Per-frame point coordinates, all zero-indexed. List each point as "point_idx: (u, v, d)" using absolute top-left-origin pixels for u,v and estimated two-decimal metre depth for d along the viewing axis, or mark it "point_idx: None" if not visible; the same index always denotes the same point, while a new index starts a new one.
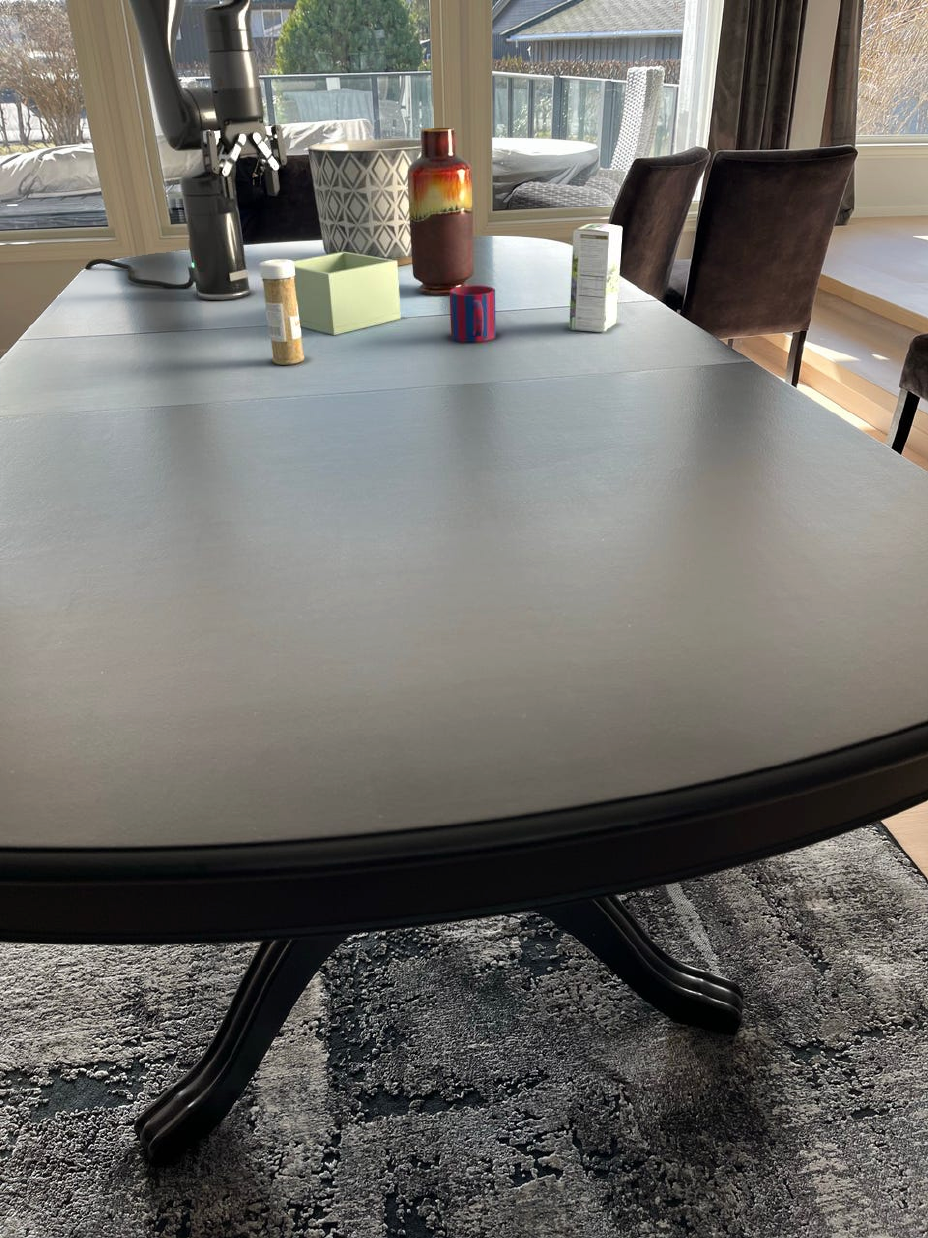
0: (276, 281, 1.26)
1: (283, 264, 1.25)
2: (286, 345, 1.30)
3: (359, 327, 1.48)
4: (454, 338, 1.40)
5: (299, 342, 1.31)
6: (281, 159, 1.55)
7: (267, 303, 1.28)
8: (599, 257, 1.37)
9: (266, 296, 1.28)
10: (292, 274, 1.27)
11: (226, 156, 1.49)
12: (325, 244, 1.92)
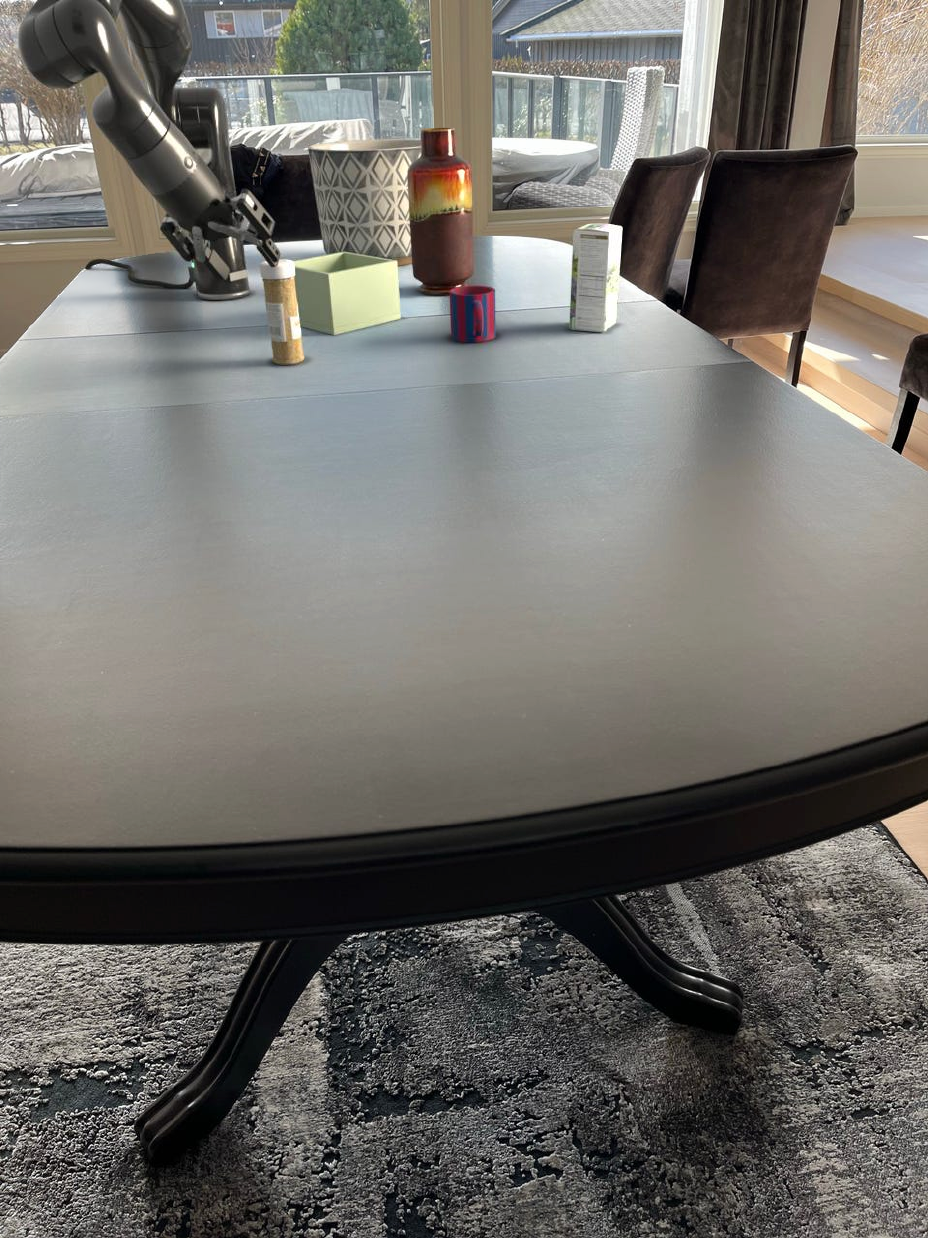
0: (276, 281, 1.26)
1: (283, 264, 1.25)
2: (286, 345, 1.30)
3: (359, 327, 1.48)
4: (454, 338, 1.40)
5: (299, 342, 1.31)
6: (261, 234, 1.19)
7: (267, 303, 1.28)
8: (599, 257, 1.37)
9: (266, 296, 1.28)
10: (292, 274, 1.27)
11: None
12: (325, 244, 1.92)
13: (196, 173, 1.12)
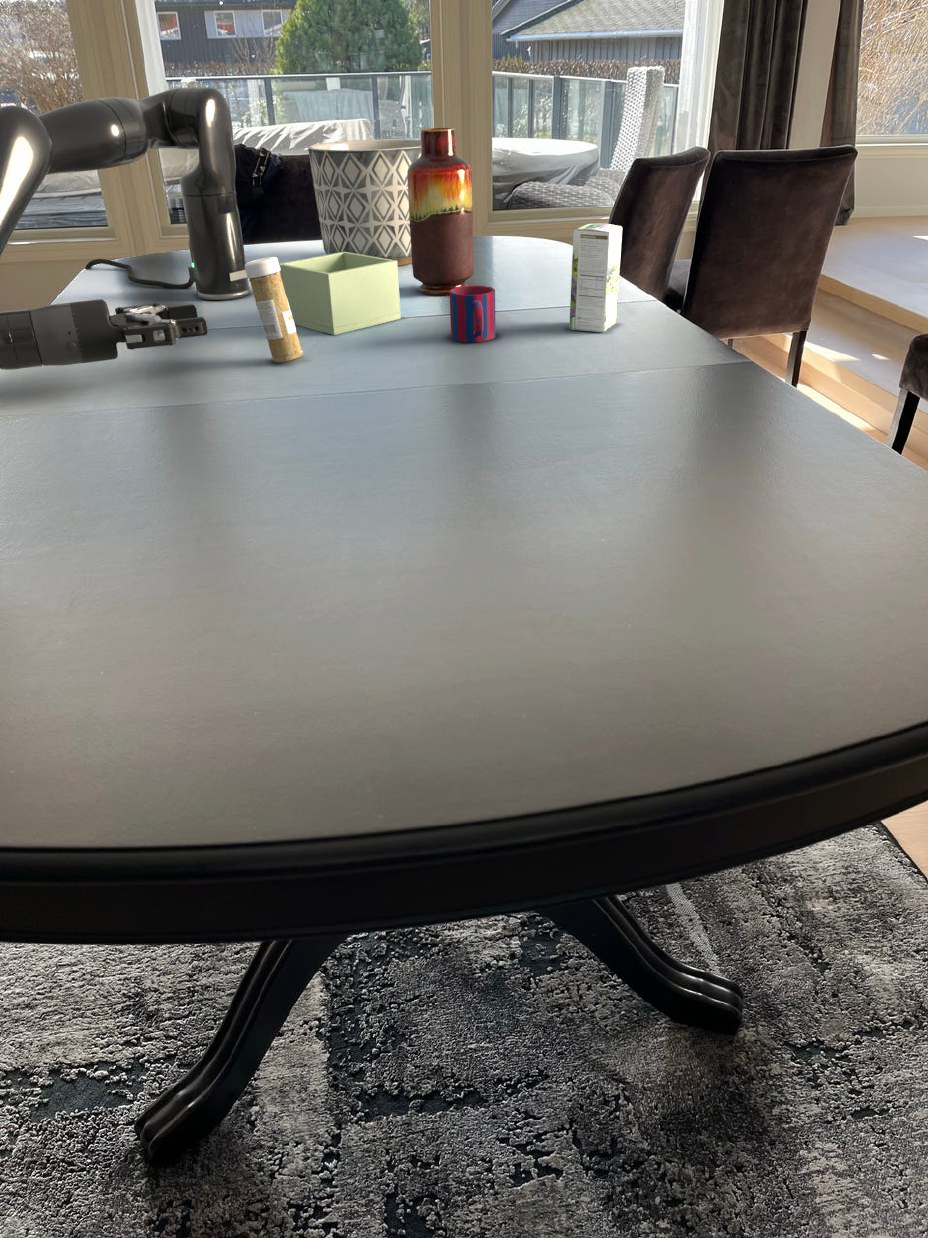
0: (263, 278, 1.26)
1: (267, 260, 1.26)
2: (283, 341, 1.30)
3: (359, 327, 1.48)
4: (454, 338, 1.40)
5: (295, 337, 1.31)
6: None
7: (258, 302, 1.28)
8: (599, 257, 1.37)
9: (256, 296, 1.28)
10: (278, 269, 1.27)
11: None
12: (325, 244, 1.92)
13: (84, 346, 1.19)
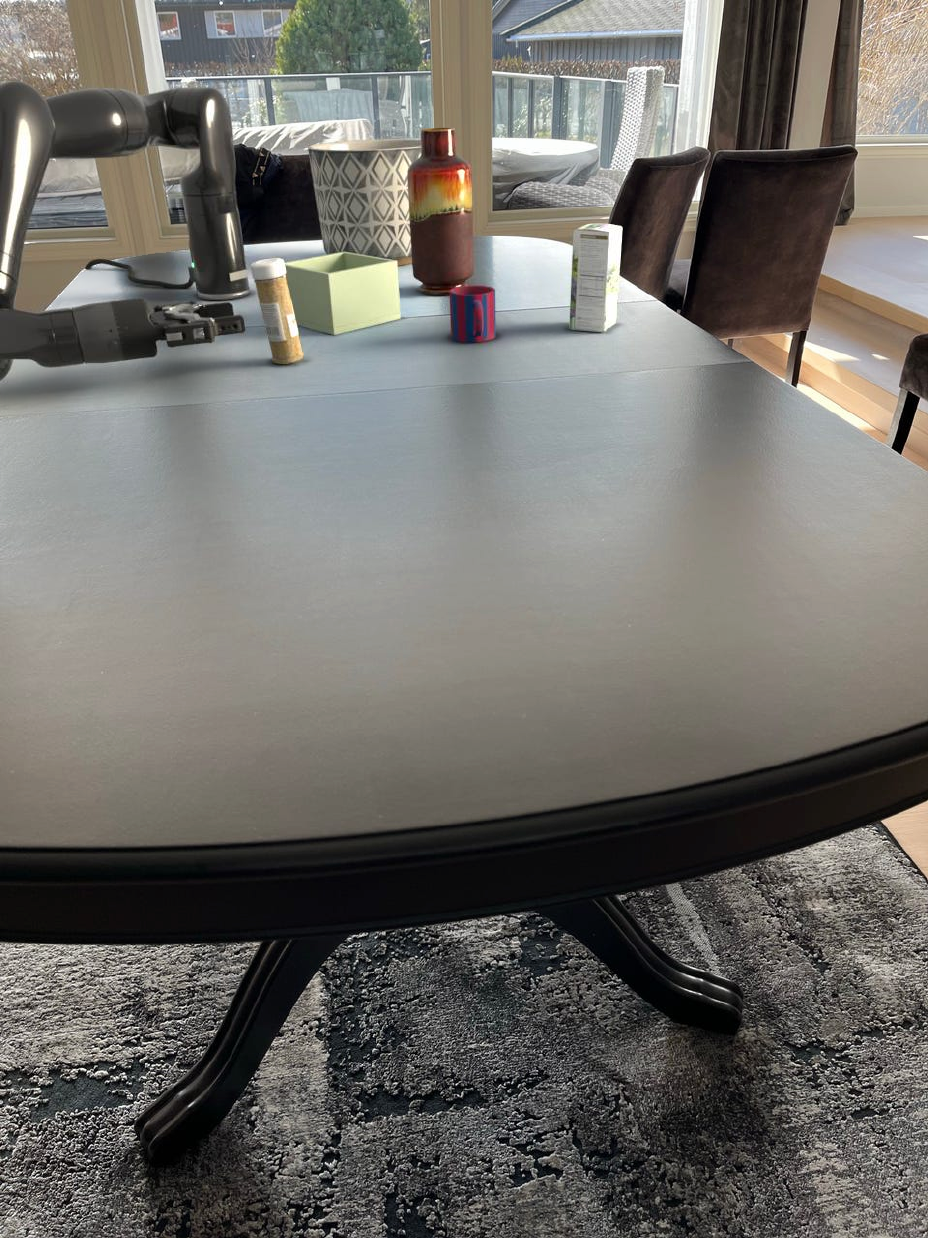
0: (270, 281, 1.25)
1: (275, 263, 1.25)
2: (286, 344, 1.30)
3: (359, 327, 1.48)
4: (454, 338, 1.40)
5: (297, 339, 1.31)
6: None
7: (262, 304, 1.28)
8: (599, 257, 1.37)
9: (261, 297, 1.27)
10: (284, 272, 1.26)
11: None
12: (325, 244, 1.92)
13: (125, 344, 1.21)
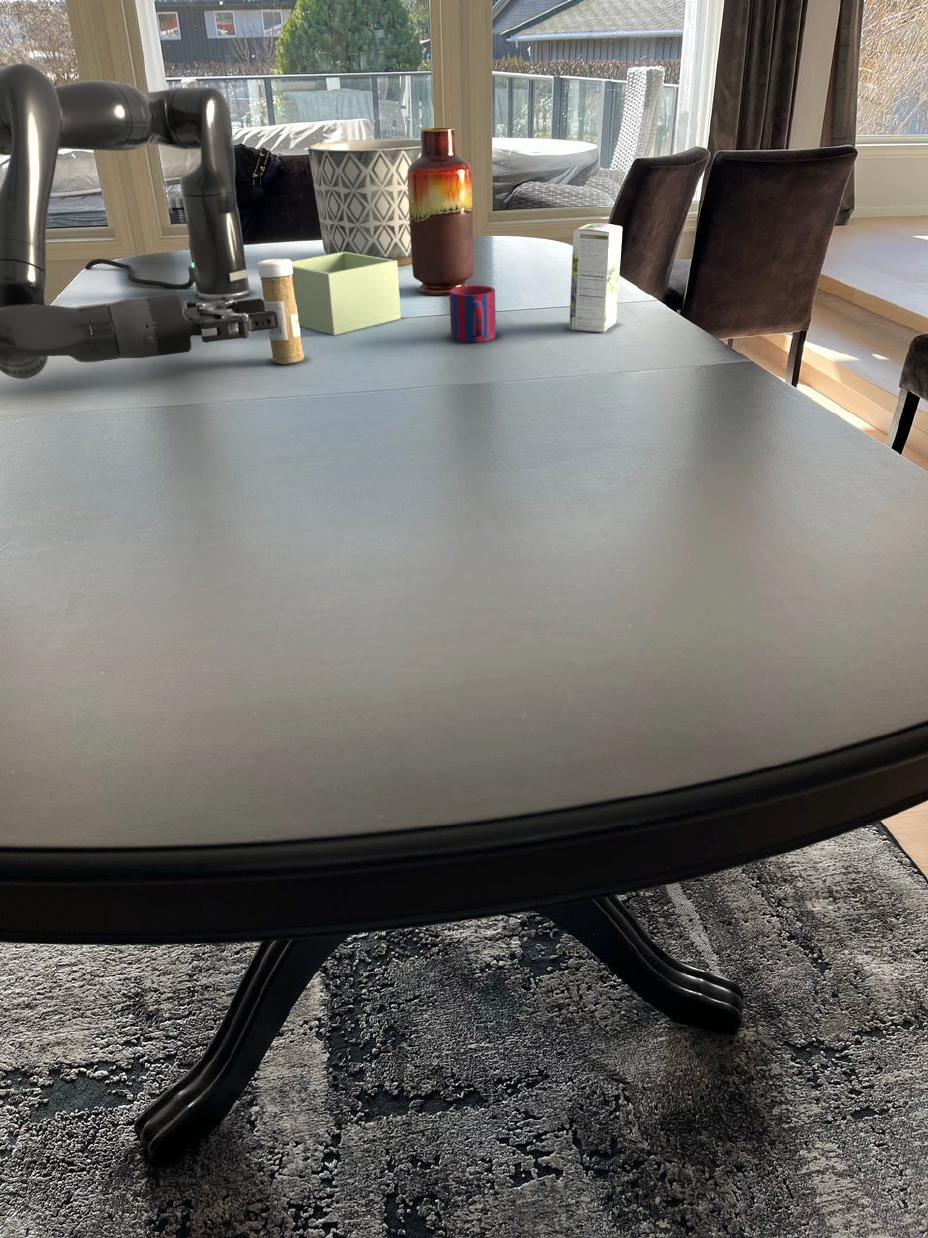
0: (276, 279, 1.26)
1: (283, 262, 1.26)
2: (288, 343, 1.30)
3: (359, 327, 1.48)
4: (454, 338, 1.40)
5: (299, 340, 1.32)
6: None
7: (267, 302, 1.28)
8: (599, 257, 1.37)
9: (266, 295, 1.28)
10: (291, 272, 1.27)
11: None
12: (325, 244, 1.92)
13: (160, 339, 1.22)
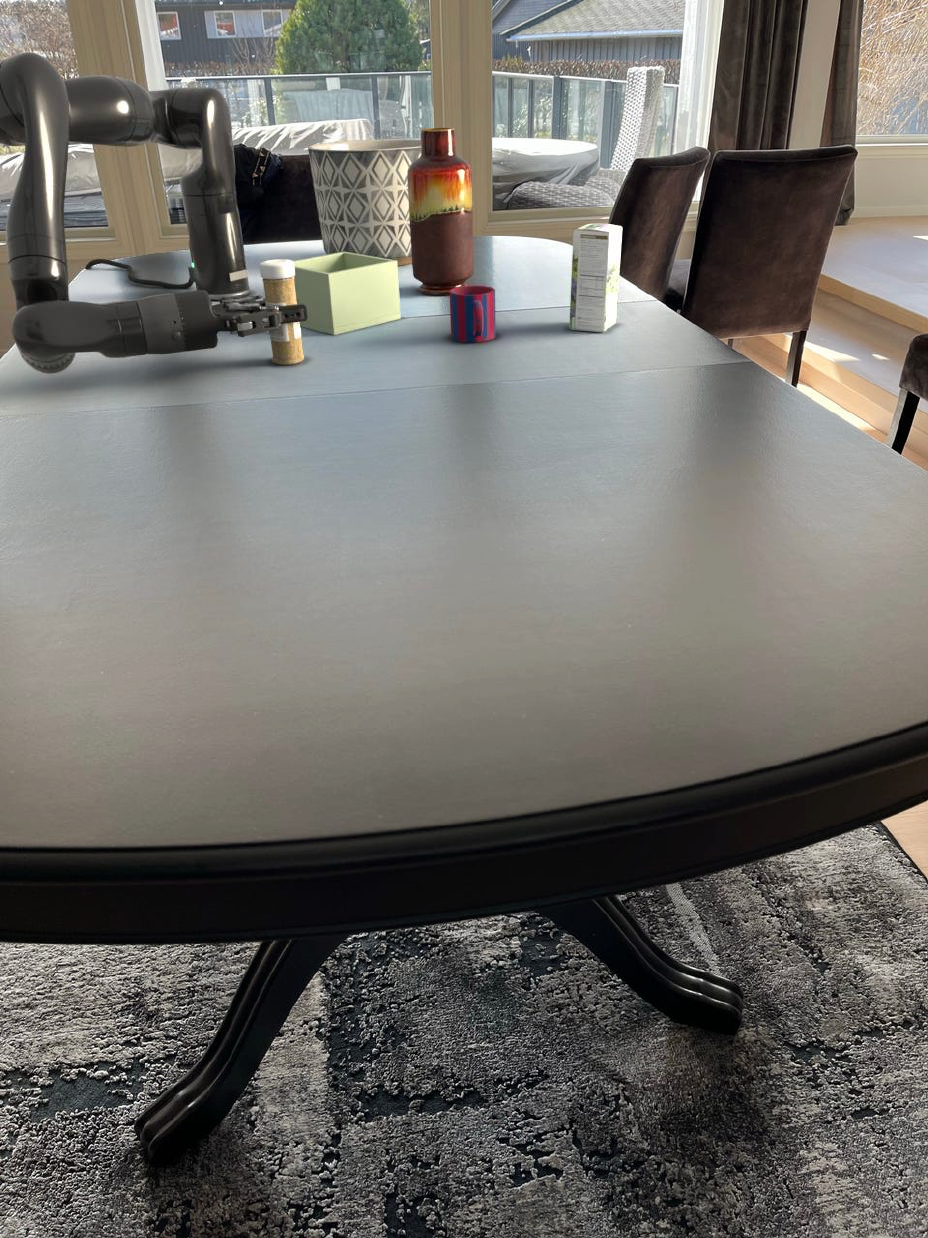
0: (279, 281, 1.26)
1: (286, 264, 1.25)
2: (289, 345, 1.30)
3: (359, 327, 1.48)
4: (454, 338, 1.40)
5: (300, 341, 1.32)
6: None
7: (269, 303, 1.28)
8: (599, 257, 1.37)
9: (268, 296, 1.27)
10: (293, 273, 1.27)
11: None
12: (325, 244, 1.92)
13: (188, 335, 1.23)
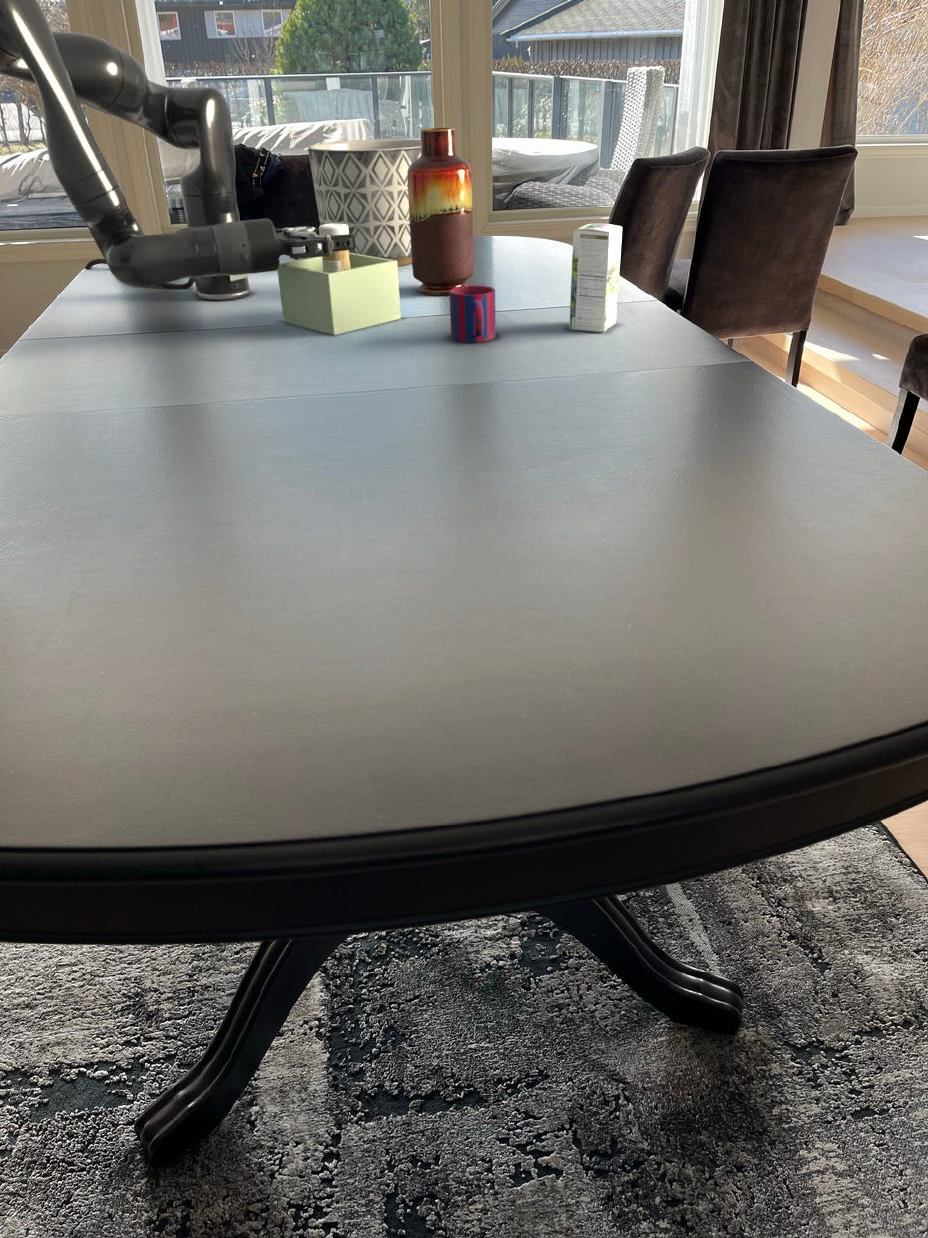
0: None
1: (341, 226, 1.45)
2: None
3: (359, 327, 1.48)
4: (454, 338, 1.40)
5: None
6: None
7: (326, 261, 1.47)
8: (599, 257, 1.37)
9: None
10: None
11: None
12: None
13: (254, 257, 1.41)
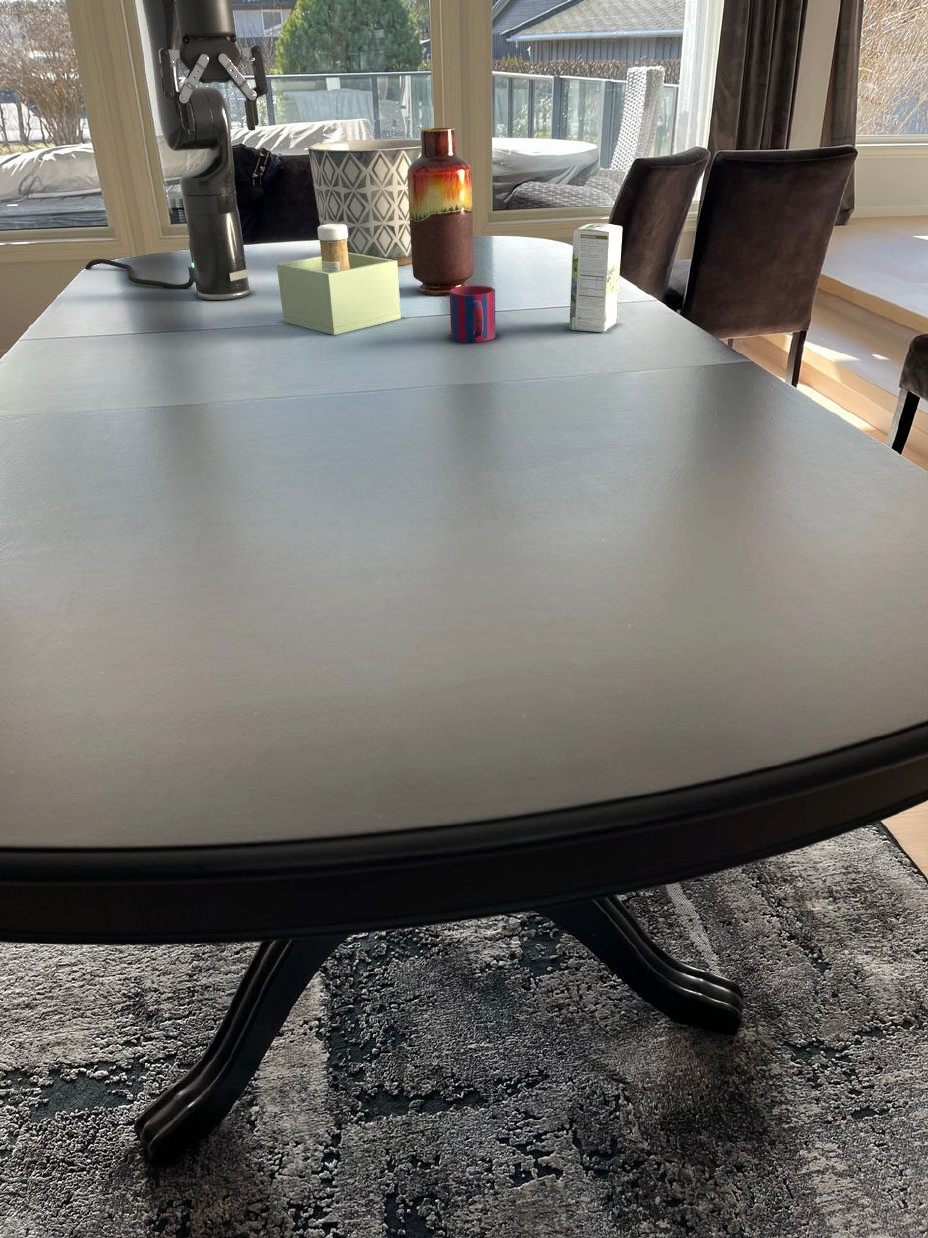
0: (334, 242, 1.45)
1: (340, 227, 1.45)
2: None
3: (359, 327, 1.48)
4: (454, 338, 1.40)
5: None
6: (260, 87, 1.33)
7: (325, 262, 1.47)
8: (599, 257, 1.37)
9: (324, 256, 1.47)
10: (346, 236, 1.47)
11: (186, 80, 1.29)
12: None
13: (231, 2, 1.27)
